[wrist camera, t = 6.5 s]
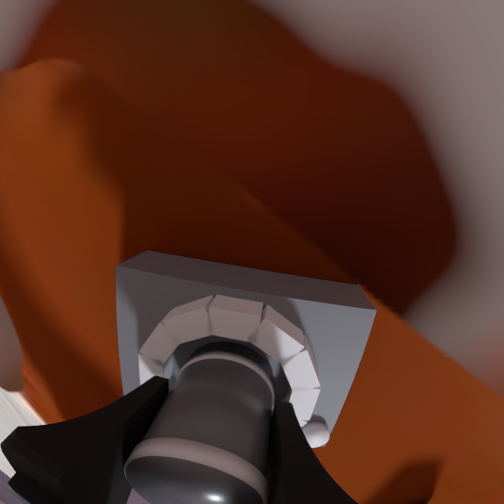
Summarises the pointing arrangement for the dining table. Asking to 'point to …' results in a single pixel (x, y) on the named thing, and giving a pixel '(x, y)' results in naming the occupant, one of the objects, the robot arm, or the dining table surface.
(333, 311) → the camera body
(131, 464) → the lens
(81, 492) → the robot arm
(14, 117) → the dining table surface
